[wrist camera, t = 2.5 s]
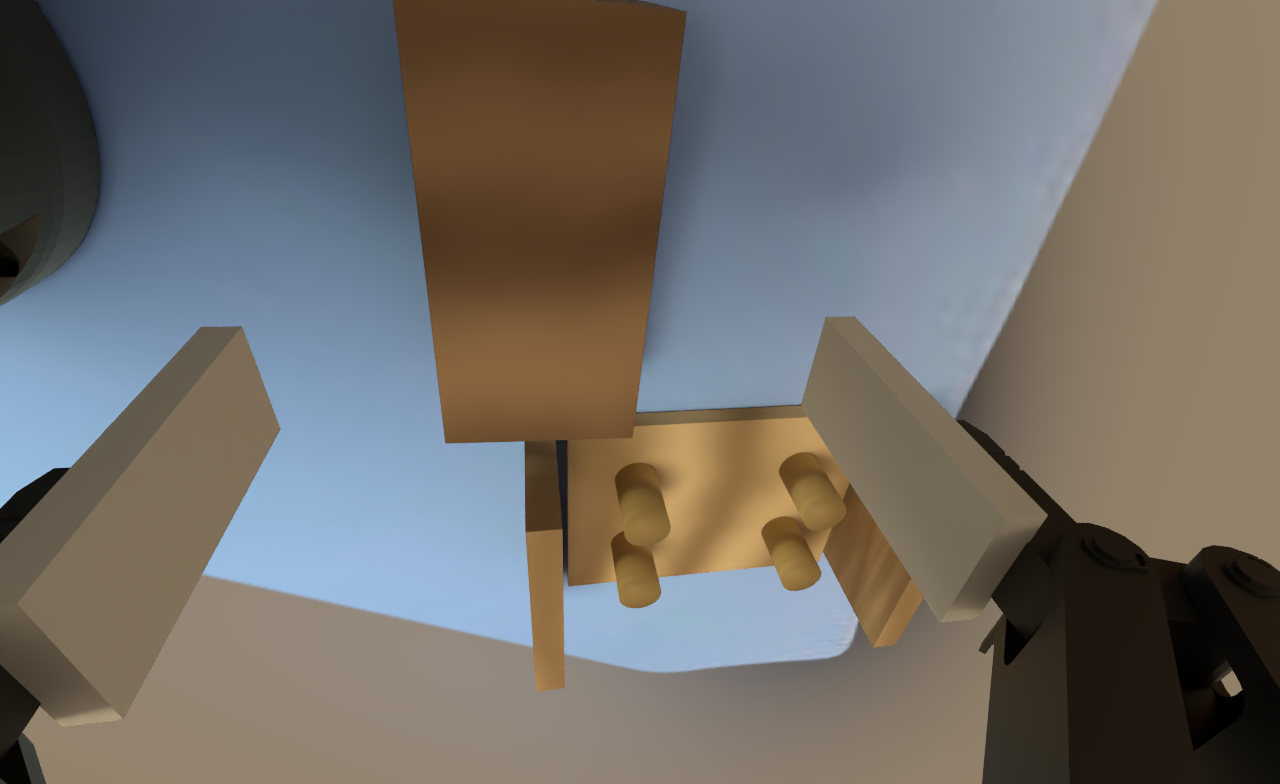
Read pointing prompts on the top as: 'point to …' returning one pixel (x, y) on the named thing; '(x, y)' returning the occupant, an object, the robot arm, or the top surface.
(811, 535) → the stand
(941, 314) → the top surface
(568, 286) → the brown wooden block
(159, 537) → the robot arm
